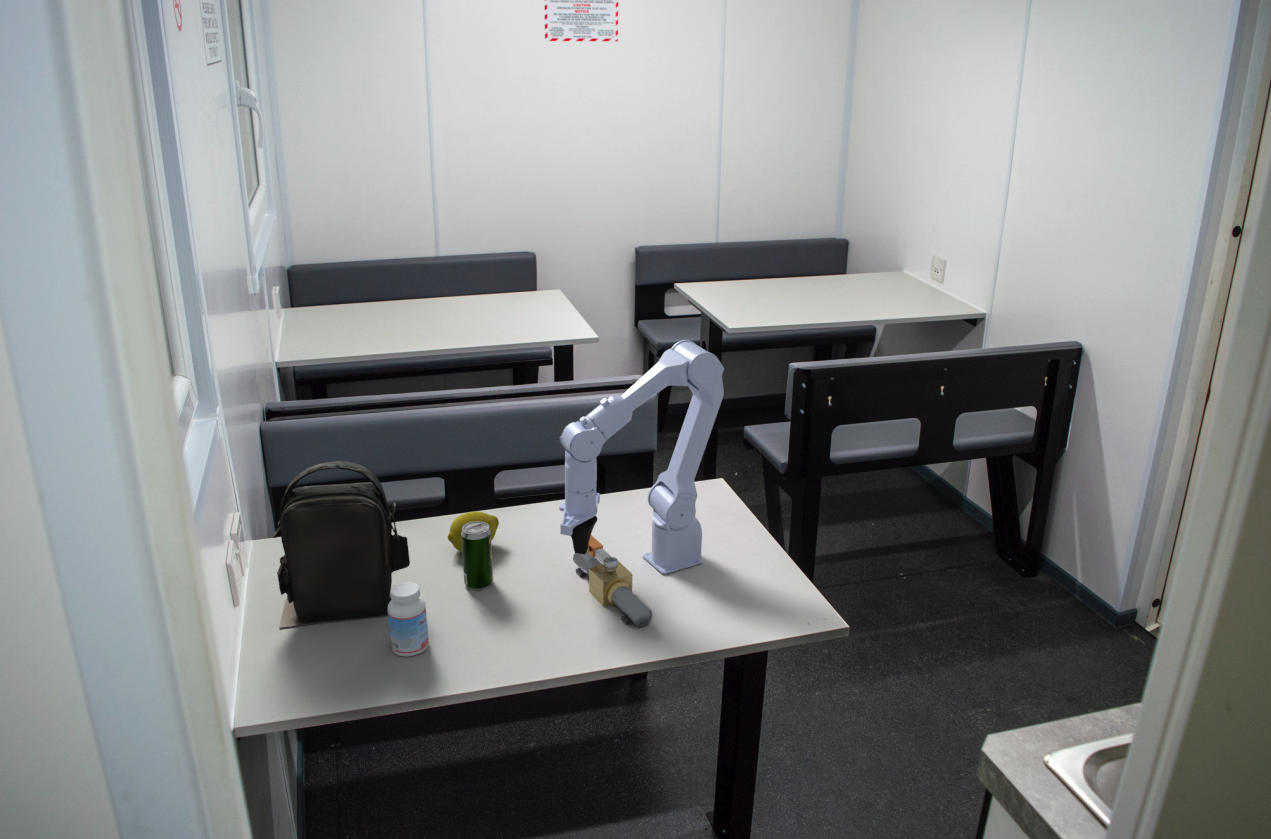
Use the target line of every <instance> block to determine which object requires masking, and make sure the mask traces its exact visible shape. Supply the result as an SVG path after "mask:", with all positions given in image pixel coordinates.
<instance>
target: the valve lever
mask: <svg viewBox="0 0 1271 839" xmlns="http://www.w3.org/2000/svg"><path fill="white" fill-rule="evenodd" d="M587 552H588V553H589V554H590V555H591V556H592V557H596V558H597V559H598V560H599V561H600V562H601V563H602V564H604V568H605V571H607V572H610V573H611V572H615V571H616V568H617V567H618V561H619V560H618V558H616V557H614V556H611V554H609V552H607V551H606V550H605V549H604V544H602V543H601V542H599V540H598V539H596V537H594V536H593V535H592V534H591V536H590V540H589V545H588V550H587Z"/></svg>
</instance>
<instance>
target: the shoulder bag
mask: <svg viewBox="0 0 1271 839" xmlns="http://www.w3.org/2000/svg"><path fill="white" fill-rule="evenodd" d="M334 469H340V470H347V471H351V472H352V471H353V472H354V473H358V474H361V475H362V476H363V477H365V478H366V479H367V480H369V481H370V482H366V481H365V482H355V483H353V482H352V483H343V484H342V483H340V484H325V485H324V484H323V485H309V486H308V485H307V486H306V485H305V486H298V487H295V486H296V485H297V484H298V482H300V481H301V480H302V479H304V478H306V477H307V476H308V475H311V474H313V473H316V472H319V471H324V470H325V471H326V470H334ZM294 487H295V488H294ZM392 507H393V509H392ZM396 507H397V503H395V502H394V501H393V502H392V503H391V504H390V505H389V504H388V500H387V495H386V493H385V490H384V487H383V485H382V483H381V481H380V480H379V478H378V476H376V475H375V473H374V472H373V471H372V470H370V469H369V468H367V467H365V466H363V465H361V464H359V463H356V462H351V461H345V460H337V461H328V462H327V461H326V462H323V463H319V464H315V465H312V466H309V467H308V468H306V469H304V470H303V471H301V472H300V473H299V474H298V475H296V476H295V477H294V478H293V479H292V480H291V481H290V482H289V485H288V486H287V488H286V490H285V492H284V495H283V497H282V500H281V504H280V511H279V521H278V523H277V525H276V528H277V529H276V531H275V532H274V533H273V536H272V539H274V538H275V539H276V538H277V537H278V536H279V534H280V535H281V536H280V538H281V544H282V547H283V553H284V554H283V556H281V557H280V558H279V564H280V565H279V568H278V570H277V572H276V574H277V580H278V586H279V587H278V588H279V592H280V595H281V596H283V595H284V594H286V598H285V600H284V605H283V610H282V614H281V618H280V623H279V626H278V627H279V629H280V628H287V627H289V628H290V627H298V626H307V625H308V626H309V625H317V624H327V623H335V622H336V623H337V622H346V621H356V620H365V619H372V618H373V619H375V618H383V617H384V618H385V617H388V604H389V602H390V601H391V600H392V599H391V593H390V591H391V588H392V584H393V576H392V574H393V573H394V572H397V571H400V570H404V569H406V568H408V567H410V565H411V560H410V559H411V558H410V553H409V552H410V551H409V545H408V544H409V543H408V537H407V536H405V535H404V536H403V535H400V534H398V529H397V525H396V520H395V514H396ZM391 509H392V512H391ZM392 532H393V533H394V534H393V533H392Z"/></svg>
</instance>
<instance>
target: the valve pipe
mask: <svg viewBox="0 0 1271 839" xmlns="http://www.w3.org/2000/svg"><path fill="white" fill-rule="evenodd" d="M572 561H573V563H574V564H575V565H576V566H577V568H576V569H575V573H576V574H577V575H578V577H579V578H583V577H588V583H589V584H588V592H589V593H590V594H591V595H592V597H594V598H595V600H597V602H599V604H601V605H602V607H606V606H609V605H611V606H613V607H617V608H618V609H619V610H621V611H622V612H623V615H621V616H620V618H621V622H623V623H624V624H625V625H626V626H629V625H632V624H634V625H635V626H636V627H639V628H643V627H646V626H647V625H649V624H650V622H651V621H652V619H653V614H654V613H653V612H652V610H651V608H649V607H648V606H647V605H646V604H645V603H644V602H643V601H642V600H641V599H640V598H639V597H638V596H637V595H636V594H634V593H633V575H634V574H633V573H632V572H631V571H630V570H629V569H628V568H627V567H626V566H624V564H622V563H621V562H620V561H619V560H618V567H617V568H616V571H615V572H611V573H610V572H607V571H605V568H604V564H603V563H602V562H601V561H600V560H599V559H598V558H596V557H592V556H591V555H590V554H589V553H588V552H586V554H585V555H584V554H579V553H575V552H574V553H573V556H572Z"/></svg>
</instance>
